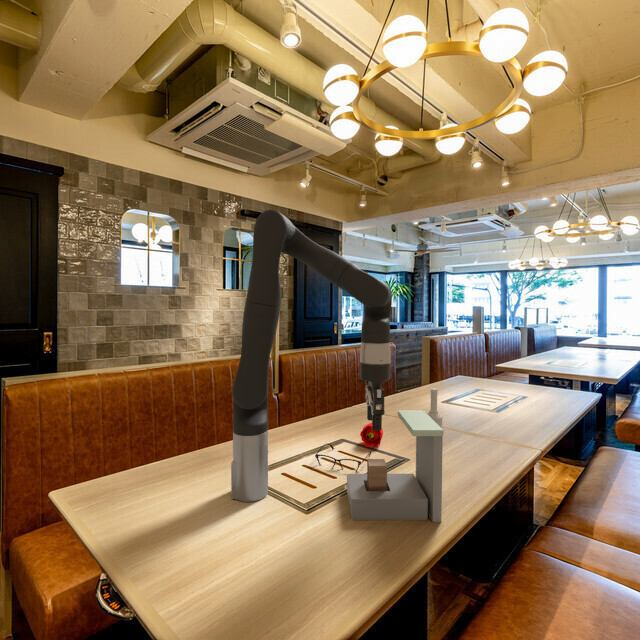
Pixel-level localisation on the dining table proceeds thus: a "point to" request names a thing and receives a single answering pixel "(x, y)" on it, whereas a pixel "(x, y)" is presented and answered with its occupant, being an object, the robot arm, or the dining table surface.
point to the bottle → (435, 408)
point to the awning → (427, 457)
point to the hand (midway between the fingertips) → (373, 425)
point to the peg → (376, 475)
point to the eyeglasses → (340, 459)
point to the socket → (387, 499)
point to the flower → (371, 436)
